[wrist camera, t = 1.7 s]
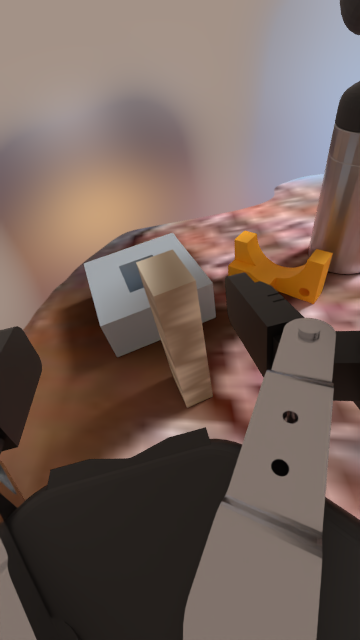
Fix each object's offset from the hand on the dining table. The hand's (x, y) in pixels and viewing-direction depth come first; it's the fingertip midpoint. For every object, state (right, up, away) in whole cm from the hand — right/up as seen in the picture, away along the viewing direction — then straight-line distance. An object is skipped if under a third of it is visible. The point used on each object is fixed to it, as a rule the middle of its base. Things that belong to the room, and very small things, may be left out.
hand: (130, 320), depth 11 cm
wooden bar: (+3, -7, +20) cm, 22 cm away
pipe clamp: (+15, +4, +29) cm, 33 cm away
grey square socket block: (-2, +2, +30) cm, 31 cm away
